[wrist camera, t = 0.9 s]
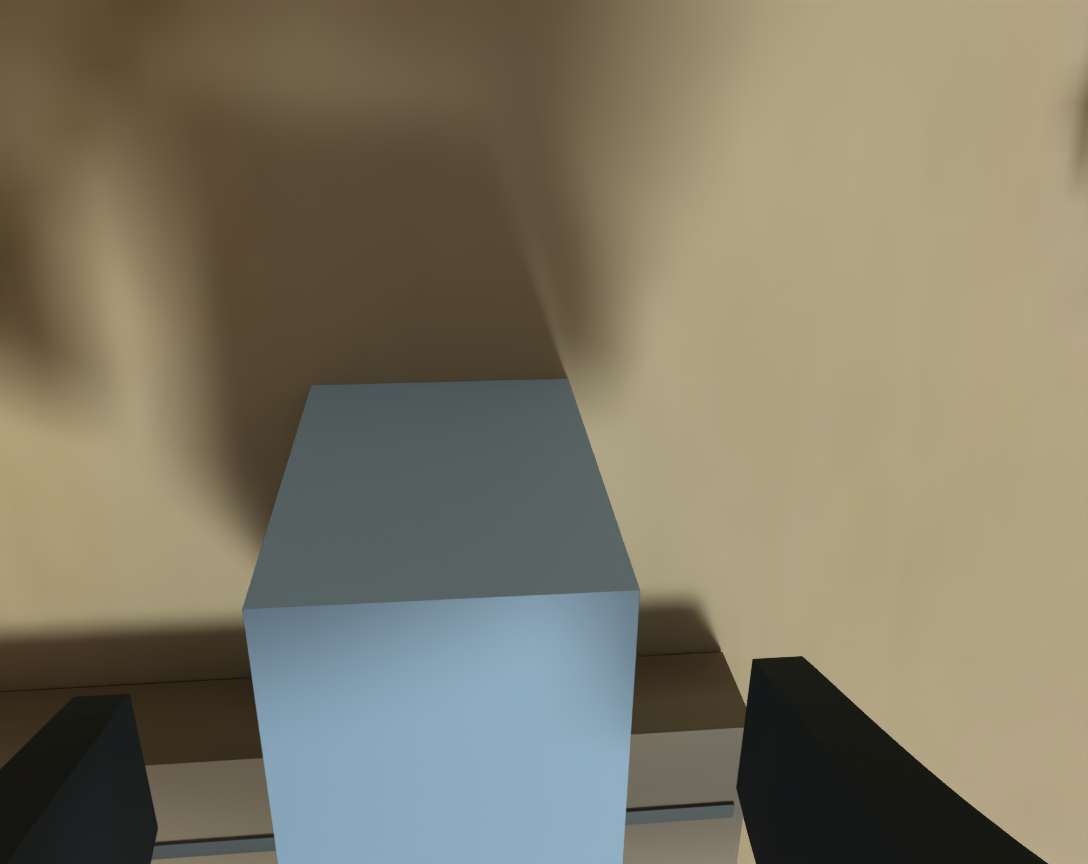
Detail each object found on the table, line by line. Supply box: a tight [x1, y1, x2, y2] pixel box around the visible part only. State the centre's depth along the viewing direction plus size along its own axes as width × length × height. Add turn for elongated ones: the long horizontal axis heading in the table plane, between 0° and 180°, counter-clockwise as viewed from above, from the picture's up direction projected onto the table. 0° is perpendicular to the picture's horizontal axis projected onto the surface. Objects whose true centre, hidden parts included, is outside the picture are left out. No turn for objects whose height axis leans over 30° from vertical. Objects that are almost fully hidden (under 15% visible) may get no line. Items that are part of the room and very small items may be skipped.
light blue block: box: [242, 379, 640, 864], centre depth 14 cm, size 8×4×6 cm, turn 0°
